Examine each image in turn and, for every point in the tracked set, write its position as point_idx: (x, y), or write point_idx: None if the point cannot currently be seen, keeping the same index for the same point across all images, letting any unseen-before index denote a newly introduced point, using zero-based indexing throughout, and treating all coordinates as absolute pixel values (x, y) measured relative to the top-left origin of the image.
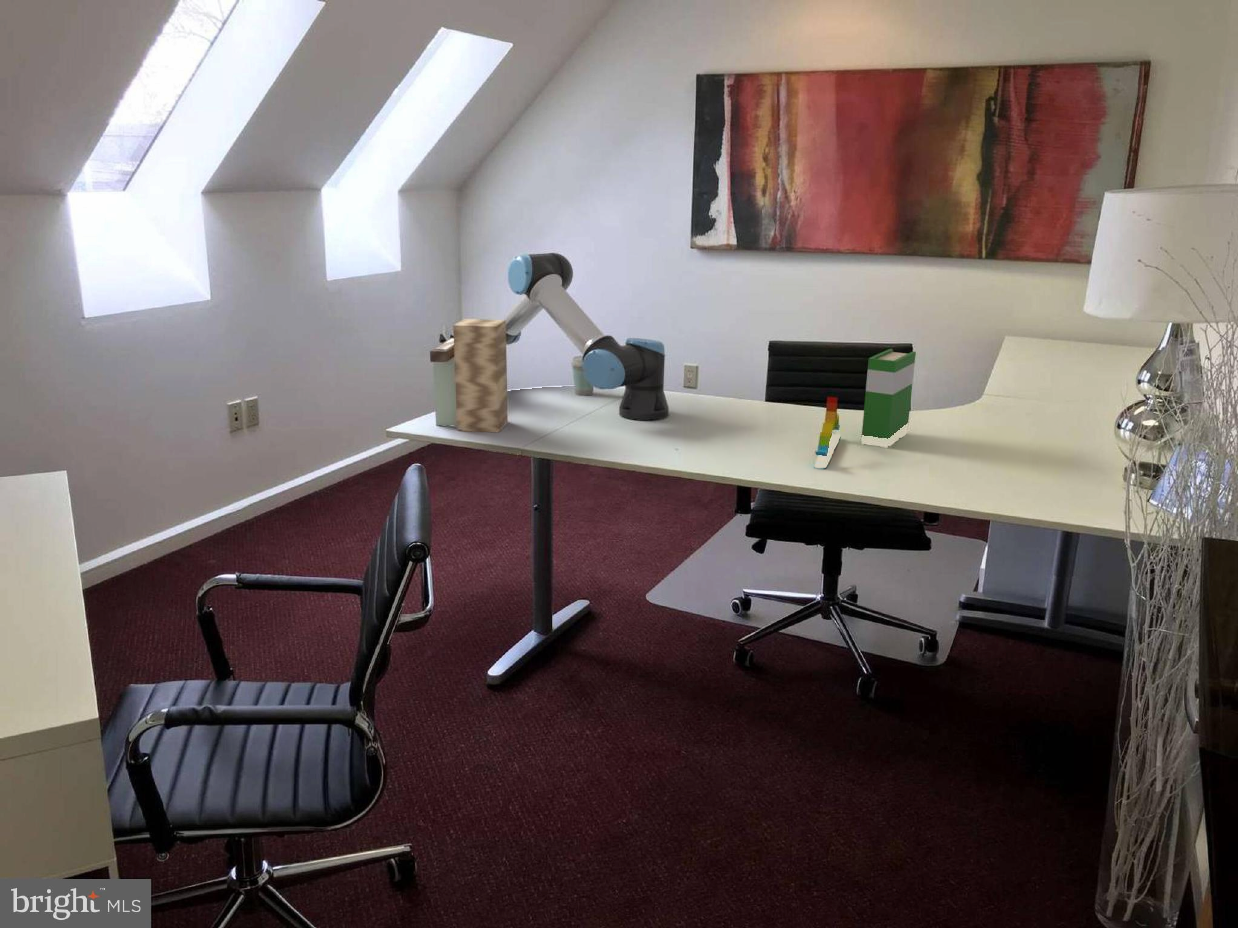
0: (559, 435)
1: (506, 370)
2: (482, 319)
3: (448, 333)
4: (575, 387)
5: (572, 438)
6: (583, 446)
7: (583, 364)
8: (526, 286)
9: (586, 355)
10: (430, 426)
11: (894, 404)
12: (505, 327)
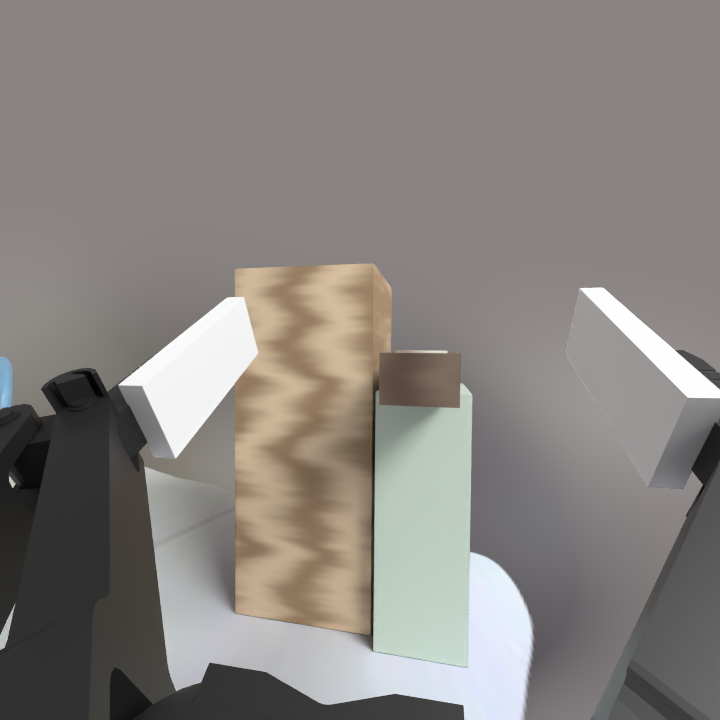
0: (163, 527)
1: (237, 437)
2: (310, 266)
3: (621, 373)
4: None
5: (150, 515)
6: (163, 492)
7: (11, 406)
8: None
9: (11, 375)
10: (472, 584)
11: None
12: (237, 293)
